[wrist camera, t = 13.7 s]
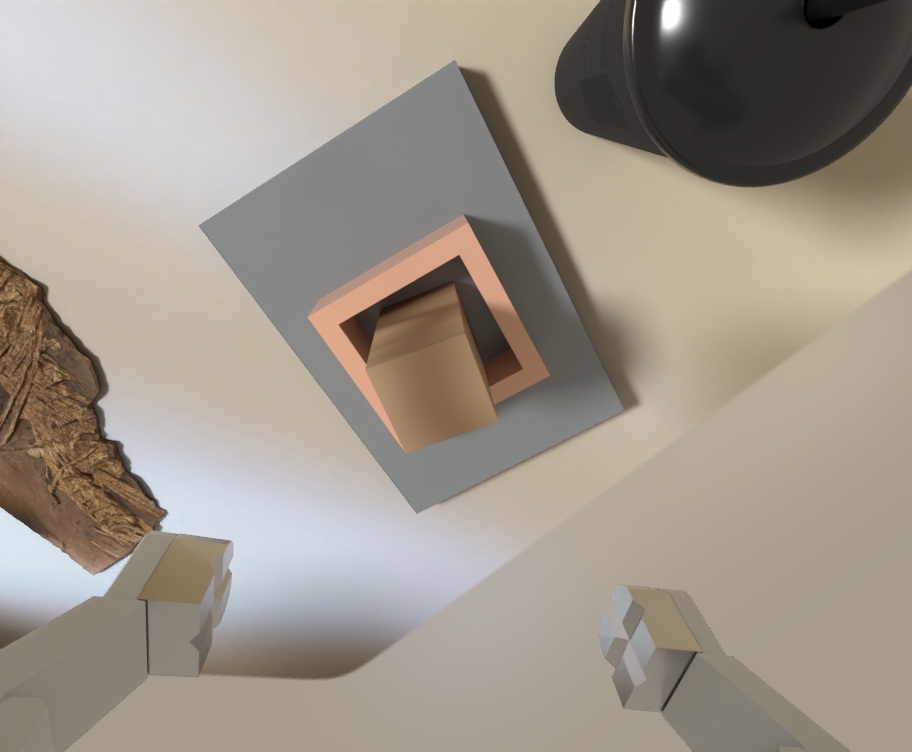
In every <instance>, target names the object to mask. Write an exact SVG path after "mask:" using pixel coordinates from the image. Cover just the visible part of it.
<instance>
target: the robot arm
mask: <svg viewBox="0 0 912 752" xmlns="http://www.w3.org/2000/svg"><path fill="white" fill-rule="evenodd" d="M232 557H233V542H232V541H230V540H223V539H215V538H208V537H201V536H193V535H186V534H174V533H167V532H160V531H153V530H151V531H150V532H149V533H147V534H146V535H145V536H144V537H143V539H142V540H141V542H140V543H139V544H138V546H137V547H136V549H135V550H134V552H133V553H132V555H131V556H130V558H129V559H128V561H127V562H126V564H125V565H124V567H123V568H122V569H121V571H120V572H119V574H118V575H117V577H116V578H115V580H114V581H113V583H112V584H111V586H110V587H109V589H108V590H107V592H106V593H105V594H104V596H103V597H97V596H94V597H92V598H90V599H88V600H87V601H85V602H83V603H81V604H79V605H78V606H76V607H74V608H72V609H71V610H69V611H67V612H65V613H64V614H62V615H60V616H58V617H57V618H55V619H53V620H51V621H50V622H48V623H46V624H44V625H43V626H41V627H39V628H37V629H36V630H34V631H32V632H30V633H29V634H27V635H25V636H23V637H22V638H20V639H18V640H16V641H15V642H13V643H11V644H9V645H8V646H6V647H4V648H2V649H1V650H0V752H64V751H65V750H66V749H68V748H69V747H70V746H71V745H72V744H73V743H74V742H75V741H76V740H78V739H79V738H80V737H81V736H82V735H83V734H84V733H86V732H87V731H88V730H89V729H90V728H91V727H92V726H93V725H95V724H96V723H97V722H98V721H99V720H100V719H101V718H102V717H104V716H105V715H106V714H107V713H108V712H109V711H110V710H112V709H113V708H114V707H115V706H116V705H117V704H118V703H120V702H121V701H122V700H123V699H124V698H125V697H126V696H128V695H129V694H130V693H131V692H132V691H133V690H134V689H135V688H137V687H138V686H139V685H140V684H141V683H142V682H143V681H145V680H146V679H147V675H161V676H183V677H198V676H199V674H200V671H201V669H202V666H203V664H204V662H205V659H206V657H207V654H208V652H209V649H210V647H211V644H212V629H213V628H215V627H216V626H217V625H219V624H220V622H221V619H222V616H223V614H224V611H225V608H226V604H227V601H228V597H229V593H230V587H231V579H232V573H231V571H230V570H229V569H228V567H229V564H230V562H231V559H232ZM612 599H613V602H614V606H613V607H611V608H610V609H608V610H607V611H605V613H604V615H603V618H602V620H601V623H600V634H599V635H600V636H599V637H600V644H601V648H602V651H603V654H604V657H605V659H606V660H607V661H608V662H609V663H610V664H611V665H612V666H613V667H614V668H615V671H614V674H613V676H612V679H613V682H614V684H615V687H616V690H617V692H618V695H619V698H620V700H621V703H622V706H623V708H624V709H632V710H642V711H651V712H661V713H662V716H663V717H664V718H665V719H666V721H667V722H668V723H669V724H670V726H671V727H672V728H673V729H674V730H675V731H676V733H677V734H678V735H679V736H680V737H681V739H682V740H683V741H684V742H685V743H686V745H687V746H688V747H689V748H690V749H691V750H692V752H850V751H849V749H847V748H846V747H845V746H844V745H842V744H841V743H840V742H839V741H838V740H836V739H835V738H834V737H833V736H831V735H830V734H829V733H828V732H826V731H825V730H824V729H822V728H821V727H820V726H819V725H818V724H816V723H815V722H814V721H813V720H811V719H810V718H809V717H808V716H807V715H805V714H804V713H803V712H802V711H800V710H799V709H798V708H797V707H795V706H794V705H793V704H792V703H791V702H789V701H788V700H787V699H786V698H784V697H783V696H782V695H781V694H779V693H778V692H777V691H776V690H774V689H773V688H772V687H771V686H769V685H768V684H767V683H766V682H765V681H763V680H762V679H761V678H760V677H758V676H757V675H756V674H754V673H753V672H752V671H751V670H750V669H748V668H747V667H746V666H745V665H743V664H742V663H741V662H740V661H739V660H737V659H736V658H735V657H733V656H728V655H726V654H725V652H724V650H723V649H722V647H721V645H720V644H719V642H718V640H717V639H716V637H715V636H714V634H713V632H712V631H711V629H710V627H709V626H708V624H707V622H706V621H705V619H704V618H703V616H702V614H701V612H700V611H699V609H698V607H697V606H696V604H695V603H694V601H693V599H692V598H691V596H690V595H689V594H688V593H687V592H685V591H681V590H671V589H660V588H650V587H640V586H631V585H619V586H618V587H617V588H616V589H615V591H614V593H613V595H612Z"/></svg>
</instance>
